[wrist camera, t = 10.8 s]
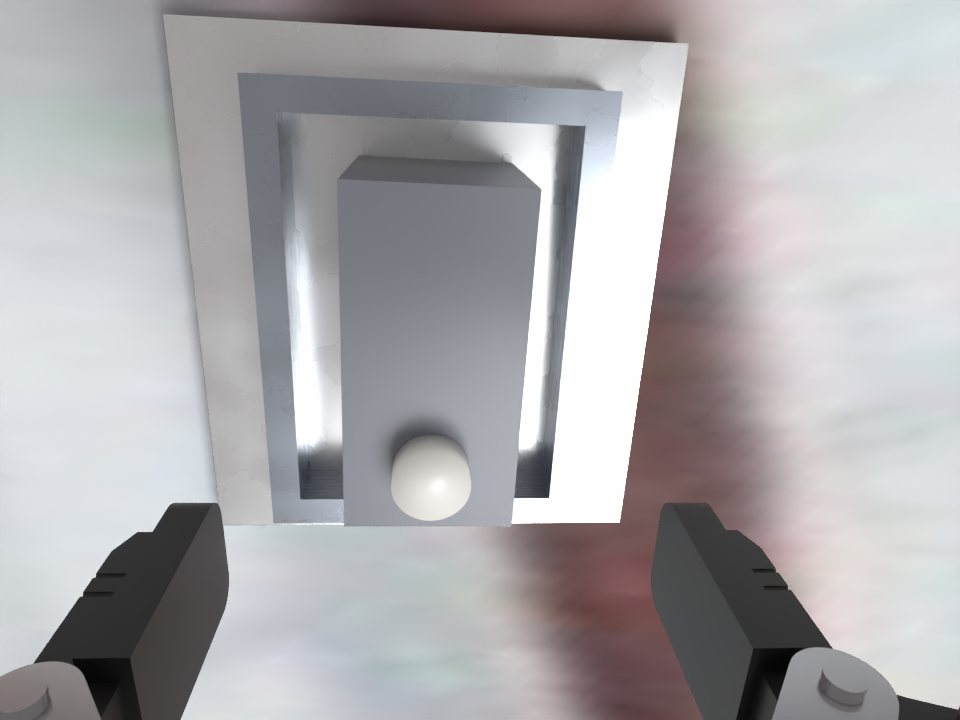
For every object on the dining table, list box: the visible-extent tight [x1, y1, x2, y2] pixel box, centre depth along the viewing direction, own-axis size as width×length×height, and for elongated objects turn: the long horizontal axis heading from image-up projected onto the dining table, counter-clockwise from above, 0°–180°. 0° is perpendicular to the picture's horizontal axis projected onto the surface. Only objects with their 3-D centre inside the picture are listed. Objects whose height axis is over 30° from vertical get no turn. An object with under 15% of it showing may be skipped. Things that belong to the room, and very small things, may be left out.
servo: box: [337, 155, 542, 526], centre depth 21 cm, size 5×10×7 cm, turn 177°
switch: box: [163, 14, 689, 525], centre depth 24 cm, size 16×18×3 cm
